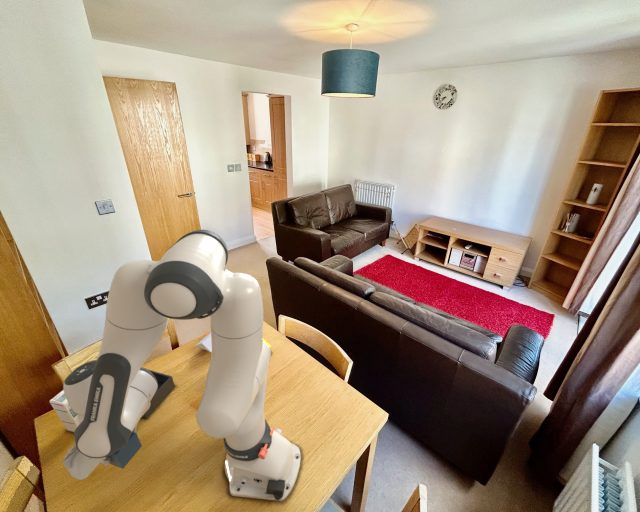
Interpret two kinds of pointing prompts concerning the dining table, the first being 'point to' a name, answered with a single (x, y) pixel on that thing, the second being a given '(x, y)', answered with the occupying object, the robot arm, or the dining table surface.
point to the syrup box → (65, 411)
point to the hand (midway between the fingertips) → (121, 448)
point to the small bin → (126, 451)
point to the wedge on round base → (205, 343)
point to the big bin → (160, 391)
